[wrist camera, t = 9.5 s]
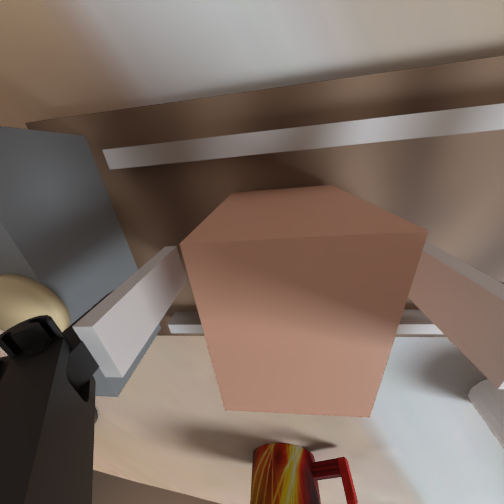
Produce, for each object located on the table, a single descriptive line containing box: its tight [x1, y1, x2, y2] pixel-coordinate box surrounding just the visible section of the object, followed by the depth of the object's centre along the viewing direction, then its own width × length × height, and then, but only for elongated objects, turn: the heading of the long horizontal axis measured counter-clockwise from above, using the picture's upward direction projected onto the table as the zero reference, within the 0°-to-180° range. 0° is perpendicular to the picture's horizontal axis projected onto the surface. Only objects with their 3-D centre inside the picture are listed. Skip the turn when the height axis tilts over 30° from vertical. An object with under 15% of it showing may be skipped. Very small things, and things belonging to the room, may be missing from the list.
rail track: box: [26, 56, 504, 337], centre depth 13 cm, size 44×18×2 cm, turn 95°
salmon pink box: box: [180, 185, 429, 417], centre depth 10 cm, size 6×8×8 cm
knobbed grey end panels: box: [0, 126, 161, 397], centre depth 10 cm, size 44×16×7 cm, turn 95°
